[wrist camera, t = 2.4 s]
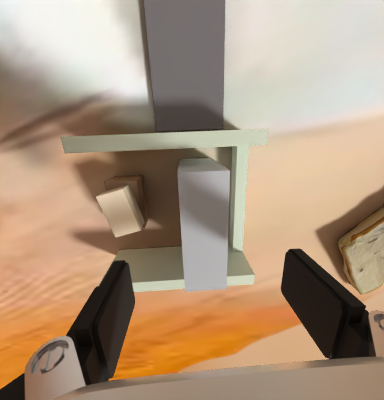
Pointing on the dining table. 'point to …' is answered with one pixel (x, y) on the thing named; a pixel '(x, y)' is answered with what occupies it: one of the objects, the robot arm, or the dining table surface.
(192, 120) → the panel
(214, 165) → the tall grey upright block
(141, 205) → the offcut
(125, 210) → the offcut
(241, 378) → the robot arm
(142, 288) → the rack
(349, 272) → the stone slab
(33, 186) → the dining table surface
